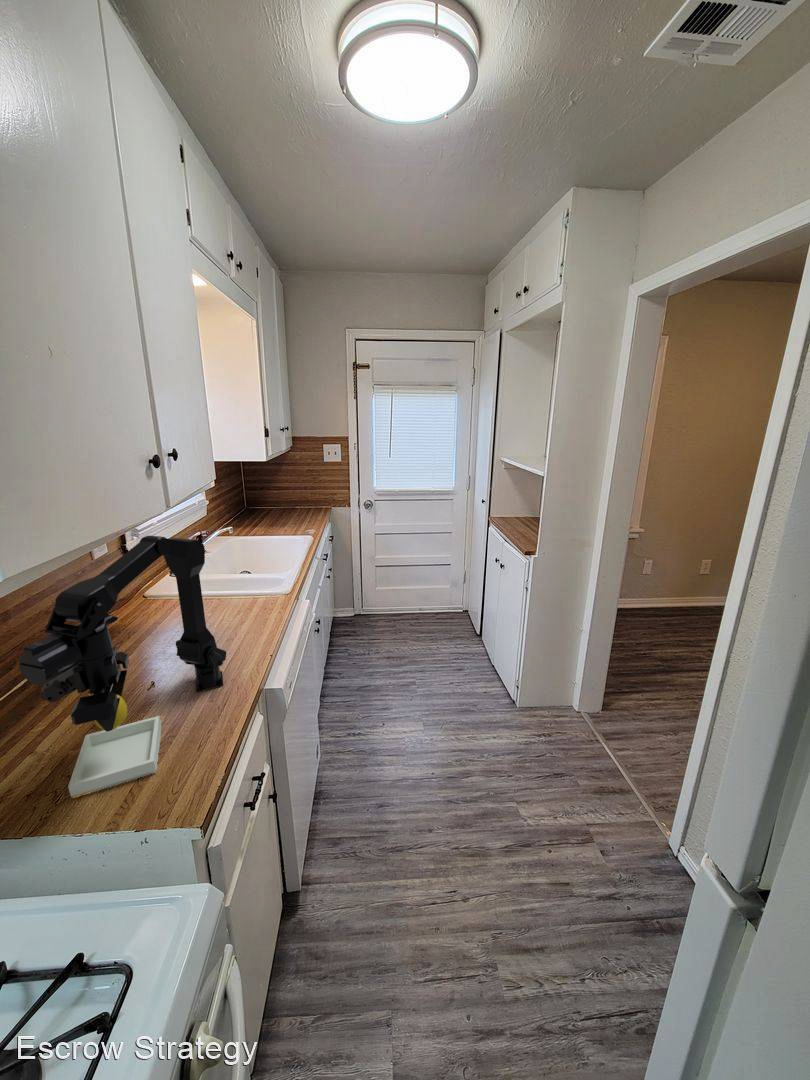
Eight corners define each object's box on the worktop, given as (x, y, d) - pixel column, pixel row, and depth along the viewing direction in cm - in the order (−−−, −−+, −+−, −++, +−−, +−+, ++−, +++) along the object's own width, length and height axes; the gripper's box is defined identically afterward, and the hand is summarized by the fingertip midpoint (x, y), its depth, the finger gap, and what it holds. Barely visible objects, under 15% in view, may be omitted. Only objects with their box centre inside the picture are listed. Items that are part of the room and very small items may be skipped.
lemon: (95, 728, 84) (85, 695, 82) (127, 715, 88) (119, 682, 85) (100, 743, 80) (91, 709, 78) (134, 728, 84) (125, 695, 82)
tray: (88, 746, 89) (85, 735, 88) (161, 726, 95) (159, 715, 94) (71, 799, 77) (68, 786, 76) (156, 773, 83) (153, 761, 82)
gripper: (55, 638, 83) (74, 703, 88) (21, 693, 67) (47, 770, 72) (121, 626, 88) (136, 689, 93) (104, 675, 72) (123, 748, 77)
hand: (112, 720), depth 83 cm, fingers closed on lemon, 5 cm apart
